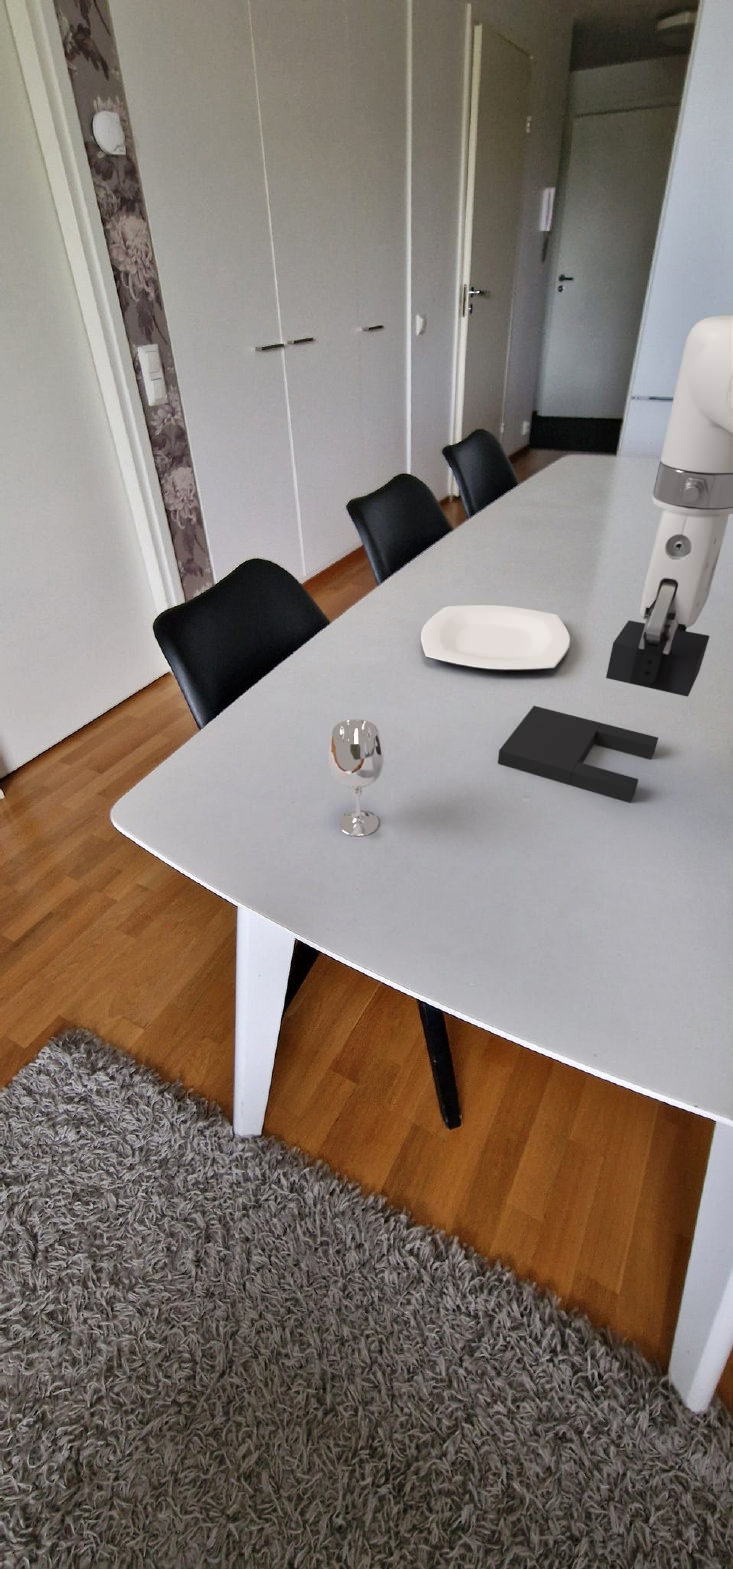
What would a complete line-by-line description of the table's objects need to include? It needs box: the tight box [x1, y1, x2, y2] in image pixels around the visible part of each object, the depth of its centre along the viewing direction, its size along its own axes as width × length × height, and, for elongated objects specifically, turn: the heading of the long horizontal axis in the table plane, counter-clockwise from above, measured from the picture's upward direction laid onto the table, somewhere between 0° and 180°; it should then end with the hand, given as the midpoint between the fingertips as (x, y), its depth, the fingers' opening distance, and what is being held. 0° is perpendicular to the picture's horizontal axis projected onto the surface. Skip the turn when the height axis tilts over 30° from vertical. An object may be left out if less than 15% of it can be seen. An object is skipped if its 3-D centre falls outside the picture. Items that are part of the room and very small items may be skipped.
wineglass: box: [327, 718, 385, 837], centre depth 74 cm, size 6×6×12 cm
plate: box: [420, 604, 571, 671], centre depth 111 cm, size 23×23×2 cm
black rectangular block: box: [605, 619, 710, 698], centre depth 71 cm, size 8×6×4 cm
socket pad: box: [497, 705, 659, 803], centre depth 86 cm, size 16×12×2 cm
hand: (654, 669), depth 72 cm, fingers closed on black rectangular block, 6 cm apart
